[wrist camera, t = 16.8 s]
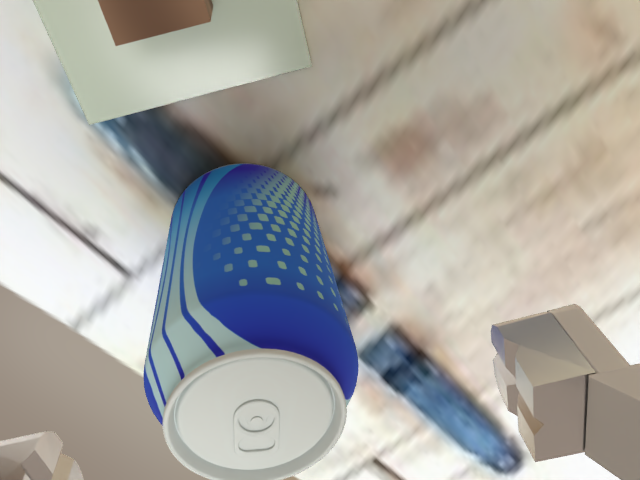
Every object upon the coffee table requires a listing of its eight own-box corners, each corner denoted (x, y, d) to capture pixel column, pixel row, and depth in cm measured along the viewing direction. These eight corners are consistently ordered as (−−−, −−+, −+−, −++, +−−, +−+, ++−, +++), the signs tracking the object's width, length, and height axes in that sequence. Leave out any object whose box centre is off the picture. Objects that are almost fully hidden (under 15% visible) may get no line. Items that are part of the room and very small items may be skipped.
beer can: (143, 231, 33) (85, 449, 20) (232, 125, 31) (237, 288, 17) (254, 300, 37) (271, 526, 23) (341, 210, 35) (418, 401, 21)
